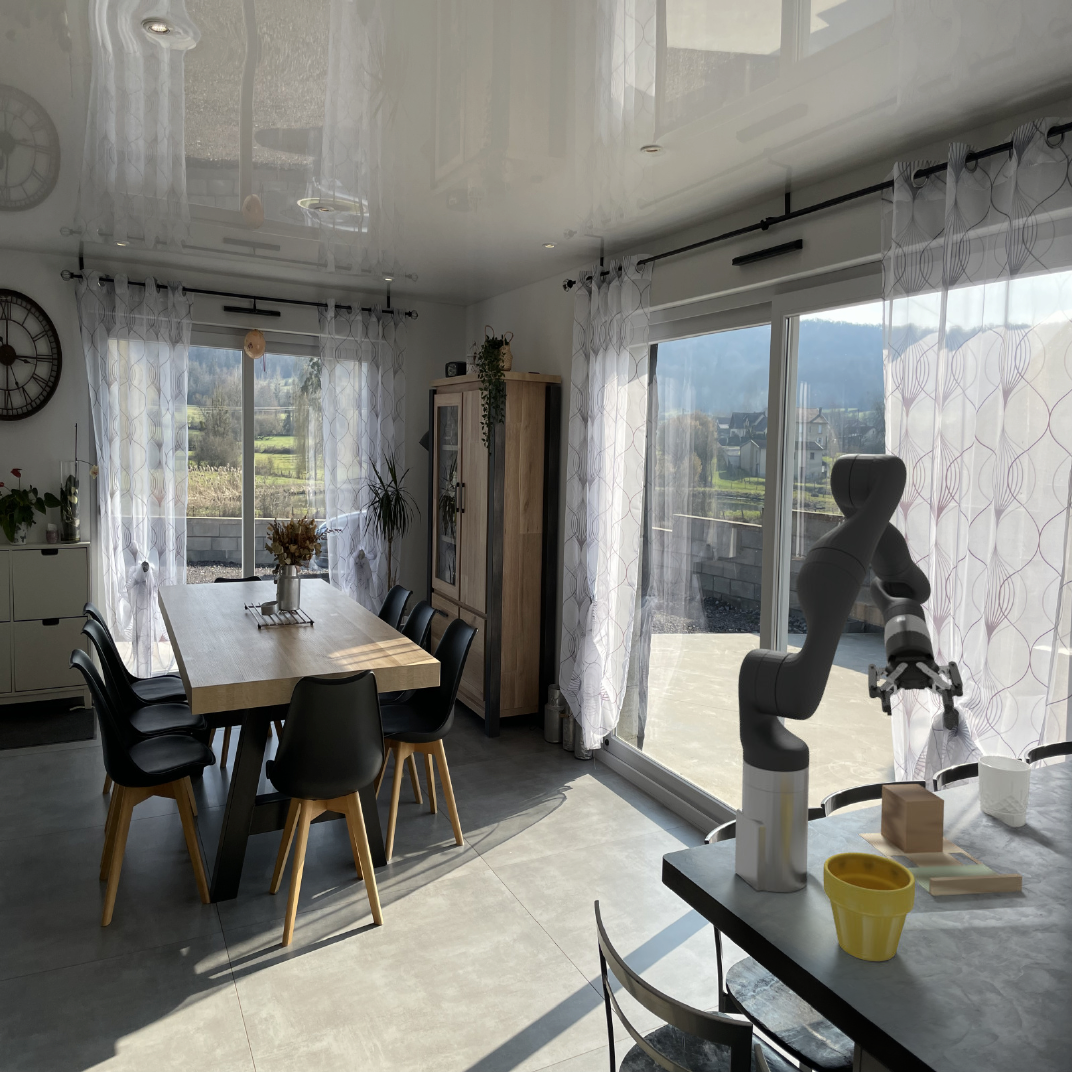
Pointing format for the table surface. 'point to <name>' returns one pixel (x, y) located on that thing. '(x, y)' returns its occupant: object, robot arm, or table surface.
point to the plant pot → (868, 902)
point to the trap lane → (948, 870)
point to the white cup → (1004, 788)
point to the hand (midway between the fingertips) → (918, 711)
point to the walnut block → (912, 818)
